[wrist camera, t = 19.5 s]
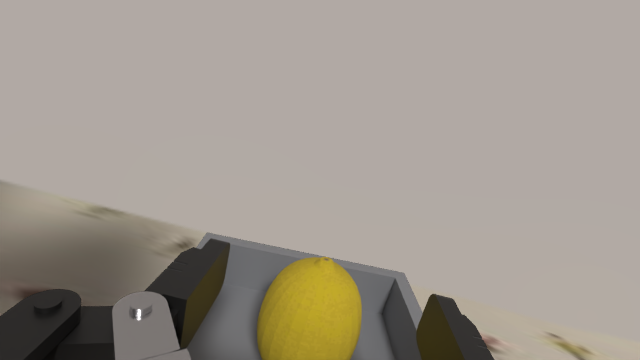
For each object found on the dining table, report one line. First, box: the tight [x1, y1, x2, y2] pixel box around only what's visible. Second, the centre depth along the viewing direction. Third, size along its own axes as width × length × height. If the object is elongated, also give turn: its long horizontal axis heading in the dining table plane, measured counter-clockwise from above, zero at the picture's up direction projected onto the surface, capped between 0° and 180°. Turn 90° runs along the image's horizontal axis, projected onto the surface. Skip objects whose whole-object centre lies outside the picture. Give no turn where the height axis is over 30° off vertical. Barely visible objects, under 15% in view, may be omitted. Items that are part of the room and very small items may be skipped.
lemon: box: [257, 257, 362, 360], centre depth 18 cm, size 6×6×8 cm
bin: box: [187, 233, 423, 360], centre depth 19 cm, size 16×16×4 cm
